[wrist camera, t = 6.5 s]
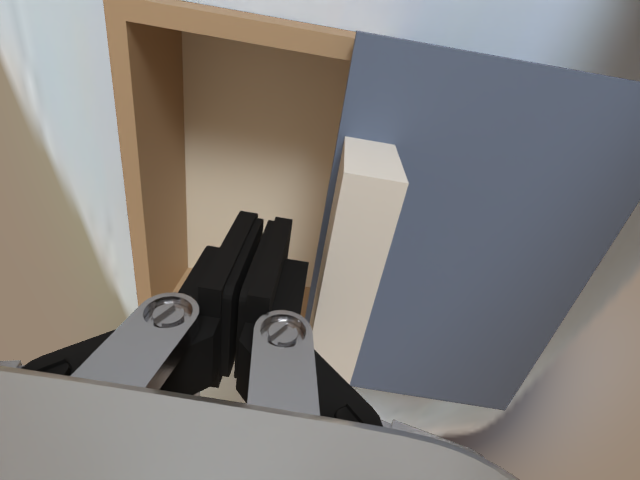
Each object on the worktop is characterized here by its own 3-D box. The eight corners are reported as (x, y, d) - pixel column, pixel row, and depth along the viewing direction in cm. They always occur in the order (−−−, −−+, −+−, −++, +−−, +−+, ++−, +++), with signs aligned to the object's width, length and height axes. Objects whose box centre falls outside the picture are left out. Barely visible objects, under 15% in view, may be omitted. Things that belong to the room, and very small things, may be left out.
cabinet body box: (397, 39, 15) (416, 49, 11) (338, 292, 22) (336, 360, 18) (172, -1, 15) (102, -8, 11) (182, 267, 22) (141, 329, 17)
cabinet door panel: (684, 89, 11) (830, 122, 8) (498, 394, 18) (532, 481, 14) (356, 30, 11) (359, 38, 7) (296, 363, 17) (284, 443, 14)
